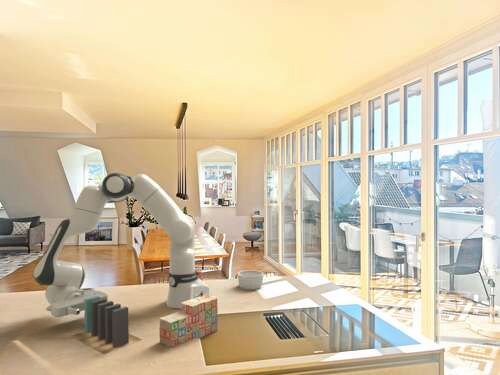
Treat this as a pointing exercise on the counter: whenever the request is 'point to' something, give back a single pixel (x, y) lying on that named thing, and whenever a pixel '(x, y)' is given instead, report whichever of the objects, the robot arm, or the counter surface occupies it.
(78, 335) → the oak board
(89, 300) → the domino
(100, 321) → the domino
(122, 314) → the domino
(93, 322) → the domino
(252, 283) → the ramekin
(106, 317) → the domino
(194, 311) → the stack of blocks
